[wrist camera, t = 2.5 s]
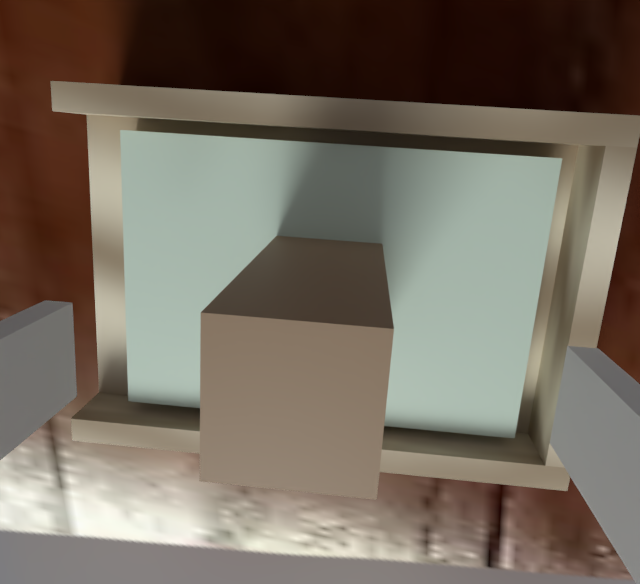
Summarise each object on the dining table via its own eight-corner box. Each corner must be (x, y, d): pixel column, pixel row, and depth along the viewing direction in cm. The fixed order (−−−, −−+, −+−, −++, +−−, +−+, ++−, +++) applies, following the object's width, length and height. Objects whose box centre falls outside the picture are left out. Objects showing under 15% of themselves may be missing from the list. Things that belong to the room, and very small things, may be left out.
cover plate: (136, 130, 22) (-96, 118, 11) (548, 157, 21) (747, 173, 10) (142, 386, 25) (-37, 579, 14) (505, 420, 24) (623, 658, 13)
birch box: (118, 94, 25) (50, 80, 20) (581, 122, 24) (643, 115, 18) (127, 385, 28) (72, 440, 23) (528, 423, 27) (567, 491, 22)
